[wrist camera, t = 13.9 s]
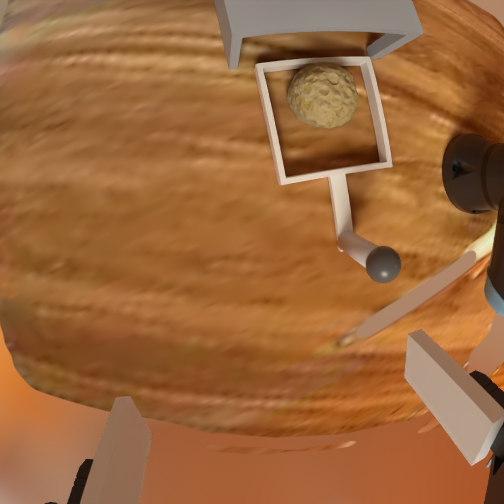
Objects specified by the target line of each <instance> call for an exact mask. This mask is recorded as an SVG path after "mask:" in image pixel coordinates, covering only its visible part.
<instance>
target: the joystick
mask: <svg viewBox="0 0 504 504" xmlns="http://www.w3.org/2000/svg"><path fill="white" fill-rule="evenodd" d="M318 62H329V63H333V64H336V65H339V66H360V67H361V71H362V75H363V79H364V83H365V87H366V92H367V96H368V101H369V105H370V110H371V115H372V120H373V125H374V130H375V135H376V141H377V147H378V153H379V159H380V162H376V163H369V164H362V165H355V166H348V167H342V168H335V169H329V170H323V171H317V172H311V173H305V174H300V175H294V176H289V177H286V176H285V171H284V166H283V161H282V156H281V151H280V146H279V141H278V136H277V131H276V126H275V121H274V116H273V112H272V107H271V103H270V98H269V93H268V89H267V85H266V80H265V76H264V73H265V72H273V71H281V70H290V69H301V68H305V67H306V66H308V65H310V64H315V63H318ZM254 71H255V75H256V80H257V84H258V89H259V93H260V98H261V102H262V107H263V112H264V116H265V121H266V126H267V131H268V136H269V140H270V145H271V150H272V155H273V160H274V165H275V171H276V176H277V181H278V184H279V185H284V184H290V183H295V182H301V181H306V180H312V179H317V178H323V177H328V181H329V187H330V193H331V200H332V207H333V213H334V221H335V228H336V236H337V244H338V250H339V251H341V252H342V251H344V252H345V253H347V254H348V255H349V256H351V257H352V258H353V259H355V260H356V261H357V262H358V263H360V264H361V265H362V266H364V267H365V268H366V271H367V273H368V275H369V276H370V278H371V279H372V280H374V281H376V282H378V283H388V282H391V281H393V280H394V279H395V278H396V277H397V276H398V274H399V272H400V270H401V260H400V257H399V255H398V253H397V252H396V251H395V250H394V249H392V248H390V247H387V246H380V247H379V246H377V245H375V244H373V243H372V242H370V241H368V240H366V239H364V238H363V237H361V236H359V235H357V234H355V233H354V232H353V226H352V218H351V210H350V202H349V195H348V188H347V182H346V175H345V174H347V173H354V172H360V171H367V170H374V169H381V168H388V167H393V166H392V159H391V153H390V146H389V140H388V135H387V129H386V124H385V119H384V114H383V109H382V104H381V100H380V95H379V91H378V86H377V82H376V78H375V74H374V70H373V67H372V63H371V59H370V57H322V58H306V59H294V60H283V61H274V62H266V63H258V64H256V65H255V68H254Z"/></svg>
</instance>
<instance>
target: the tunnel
mask: <svg viewBox="0 0 504 504" xmlns="http://www.w3.org/2000/svg"><path fill="white" fill-rule="evenodd" d="M214 4H215V8H216V13H217V17H218V21H219V26H220V30H221V35H222V39H223V44H224V49H225V53H226V58H227V62H228V67H229V70H233V69H237V68H238V62H239V56H240V50H241V44H242V38H245V37H252V36H261V35H270V34H280V33H294V32H314V31H357V32H377V33H386V34H385V35H383V36H382V37H380V38H379V39H378V40H376V41H375V42H373V43H372V44H371V45H369V46H368V47H366V50H367V53H368V57H370V59H380V58H381V57H383V56H385V55H386V54H388V53H390V52H392V51H393V50H395V49H397V48H398V47H400V46H402V45H404V44H406V43H407V42H409V41H411V40H413V39H415V38H416V37H418V36H420V35H422V34H424V32H423V29H422V26H421V23H420V21H419V18H418V15H417V13H416V10H415V7H414V5H413V2H412V0H214Z"/></svg>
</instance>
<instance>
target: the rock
mask: <svg viewBox="0 0 504 504" xmlns="http://www.w3.org/2000/svg"><path fill="white" fill-rule="evenodd" d="M286 97H287V101H288V103H289V105H290V107H291V109H292V110H293V111H294V113H295V115H296V117H297V119H299V120H301V121H302V122H304V123H306V124H308V125H312V126H315V127H322V128H332V127H337V126H342V125H343V124H345V123H346V122H347V121H349V119H351V118H352V116H353V114H354V111H355V107H356V106H357V103H358V93H357V90H356V86H355V82H354V79H353V77H352V74H351V73H350V72H349V71H347V70H346V69H344V68H342V67H341V66H339V65H336V64H333V63H329V62H318V63H315V64H310V65H308V66H306V67H305V68H304V69H302V70H300V71H299V72H298V73H296V75H294V77H293V80H292V82H291V83H290V87H289V88H288V95H287V96H286Z"/></svg>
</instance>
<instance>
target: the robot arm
mask: <svg viewBox="0 0 504 504" xmlns="http://www.w3.org/2000/svg"><path fill="white" fill-rule="evenodd" d="M442 174H443V183H444V187H445V190H446V193H447V195H448V197H449V199H450V201H451V202H452V204H453V205H454V206H455V207H456V208H458V209H459V210H461V211H463V212H467V213H471V214H479V213H484V212H488V211H493V210H497V211H498V217H497V224H496V230H495V236H494V242H493V248H492V253H491V258H490V263H489V266H488V268H487V278H486V283H485V288H484V293H485V297H486V300H487V302H488V303H489V305H490V306H491V307H492V308H493V309H494V310H495V311H496V312H497V313H498V314H500V315H501V316H503V317H504V143H494V142H492V141H490V140H487V139H485V138H483V137H482V136H480V135H477V134H461V135H458V136H456V137H455V138H454V139H453V140H452V141H451V142H450V143H449V145H448V147H447V149H446V152H445V155H444V159H443V167H442ZM404 378H405V379H406V380H407V381H408V383H409V384H410V385H411V386H412V388H413V389H414V390H415V392H416V393H417V394H418V395H419V397H420V398H421V399H422V401H423V402H424V403H425V404H426V406H427V407H428V408H429V410H430V411H431V412H432V414H433V415H434V416H435V418H436V419H437V420H438V421H439V423H440V424H441V425H442V427H443V428H444V429H445V431H446V432H447V433H448V435H449V436H450V437H451V439H452V440H453V441H454V443H455V444H456V446H457V447H458V448H459V449H460V451H461V452H462V453H463V455H464V456H465V458H466V459H467V461H468V462H469V463H470V465H471V466H472V465H474V464H475V463H477V462H478V461H480V460H482V459H483V458H484V457H486V455H487V453H488V451H489V449H491V450H492V451H493V455H492V457H491V458H490V460H489V462H488V463H487V466H486V468H488V467H489V465H490V464H491V468H490V474H489V480H488V486H487V492H486V496H485V501H484V504H504V392H503V391H502V390H501V389H500V388H498V386H497V385H496V384H495V383H493V381H492V380H491V379H490V378H488V377H487V376H486V375H485V374H483V373H481V372H478V371H473V372H472V373H470V374H468V373H467V372H466V371H465V370H464V369H463V368H462V367H461V366H460V365H459V364H458V363H457V362H456V361H455V360H454V359H453V358H451V357H450V356H449V355H448V354H447V353H446V352H445V351H444V350H443V349H442V348H441V347H440V346H439V345H438V344H437V343H435V342H434V341H433V340H432V339H431V338H430V337H429V336H428V335H427V334H426V333H425V332H424V331H422V330H421V329H420V330H418V331H415V332H412V333H410V334H408V342H407V355H406V366H405V376H404ZM151 438H152V433H151V431H150V430H149V428H148V426H147V425H146V423H145V421H144V419H143V418H142V416H141V414H140V413H139V411H138V409H137V407H136V405H135V404H134V402H133V400H132V398H131V396H125V397H116V399H115V402H114V405H113V407H112V410H111V413H110V415H109V418H108V421H107V423H106V426H105V429H104V432H103V435H102V437H101V440H100V443H99V446H98V449H97V452H96V455H95V458H94V459H86V460H85V461H84V462H83V464H82V465H81V466H80V468H79V470H78V473H77V476H76V477H77V478H76V479H75V481H74V486H73V487H72V491H71V494H70V497H69V499H68V503H67V504H140V498H141V491H142V486H143V481H144V475H145V469H146V464H147V459H148V453H149V448H150V443H151ZM45 504H57V503H53V502H49V503H45Z"/></svg>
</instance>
